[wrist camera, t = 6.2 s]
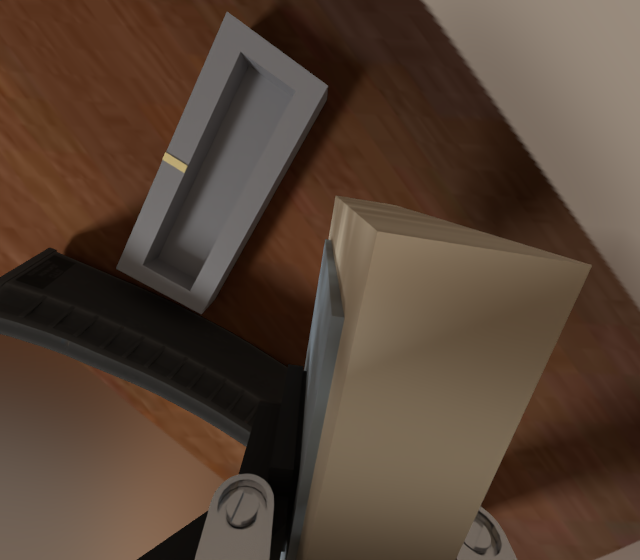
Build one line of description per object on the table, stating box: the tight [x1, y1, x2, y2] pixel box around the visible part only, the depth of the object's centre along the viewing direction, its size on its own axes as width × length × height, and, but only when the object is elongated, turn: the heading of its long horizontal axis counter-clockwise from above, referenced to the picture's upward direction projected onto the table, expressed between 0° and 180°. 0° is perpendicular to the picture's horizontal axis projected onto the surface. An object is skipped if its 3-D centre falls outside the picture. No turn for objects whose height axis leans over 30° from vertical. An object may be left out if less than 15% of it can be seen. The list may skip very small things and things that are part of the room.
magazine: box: [0, 248, 288, 447], centre depth 26 cm, size 17×3×30 cm
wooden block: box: [280, 196, 592, 560], centre depth 10 cm, size 14×3×9 cm, turn 171°
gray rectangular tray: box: [116, 12, 328, 314], centre depth 25 cm, size 21×8×4 cm, turn 148°
